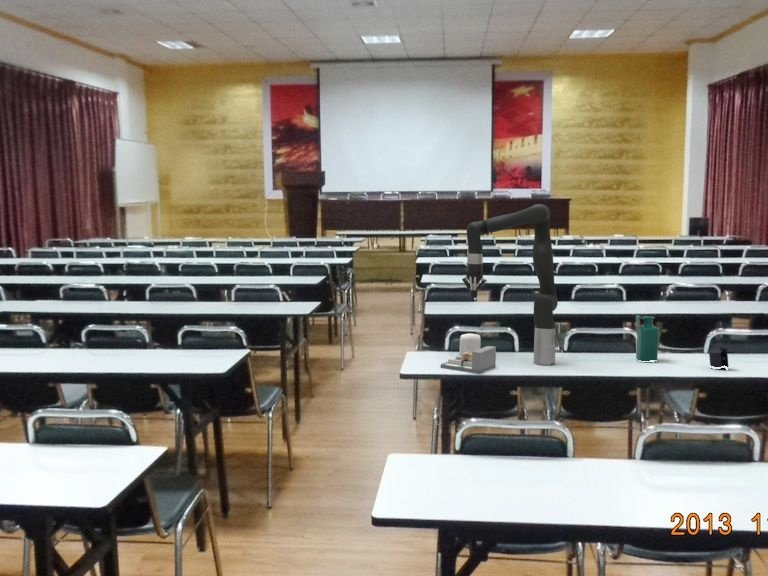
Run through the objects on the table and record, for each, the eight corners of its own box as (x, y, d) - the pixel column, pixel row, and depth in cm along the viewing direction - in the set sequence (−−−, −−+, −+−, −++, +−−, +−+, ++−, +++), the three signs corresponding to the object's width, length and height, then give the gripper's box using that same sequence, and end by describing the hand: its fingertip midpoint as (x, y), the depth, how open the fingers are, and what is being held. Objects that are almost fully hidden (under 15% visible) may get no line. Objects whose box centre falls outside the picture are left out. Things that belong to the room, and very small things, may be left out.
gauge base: (495, 367, 328) (496, 346, 326) (479, 373, 314) (480, 352, 313) (457, 361, 339) (457, 341, 338) (440, 367, 326) (441, 347, 324)
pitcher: (652, 358, 348) (654, 314, 346) (658, 362, 340) (661, 317, 337) (632, 358, 348) (634, 314, 346) (638, 362, 340) (640, 317, 337)
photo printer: (478, 357, 348) (479, 332, 346) (481, 359, 344) (481, 334, 342) (458, 357, 346) (458, 333, 345) (460, 359, 342) (461, 334, 341)
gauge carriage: (477, 363, 327) (477, 352, 326) (466, 367, 318) (467, 356, 318) (467, 361, 330) (468, 351, 329) (456, 366, 321) (457, 355, 320)
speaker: (726, 367, 330) (725, 345, 329) (728, 370, 325) (728, 348, 323) (708, 367, 332) (708, 346, 331) (710, 371, 327) (710, 349, 325)
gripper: (490, 262, 346) (489, 298, 348) (466, 261, 353) (465, 295, 355) (483, 263, 340) (482, 299, 342) (459, 262, 347) (458, 297, 349)
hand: (474, 297), depth 348 cm, fingers closed
